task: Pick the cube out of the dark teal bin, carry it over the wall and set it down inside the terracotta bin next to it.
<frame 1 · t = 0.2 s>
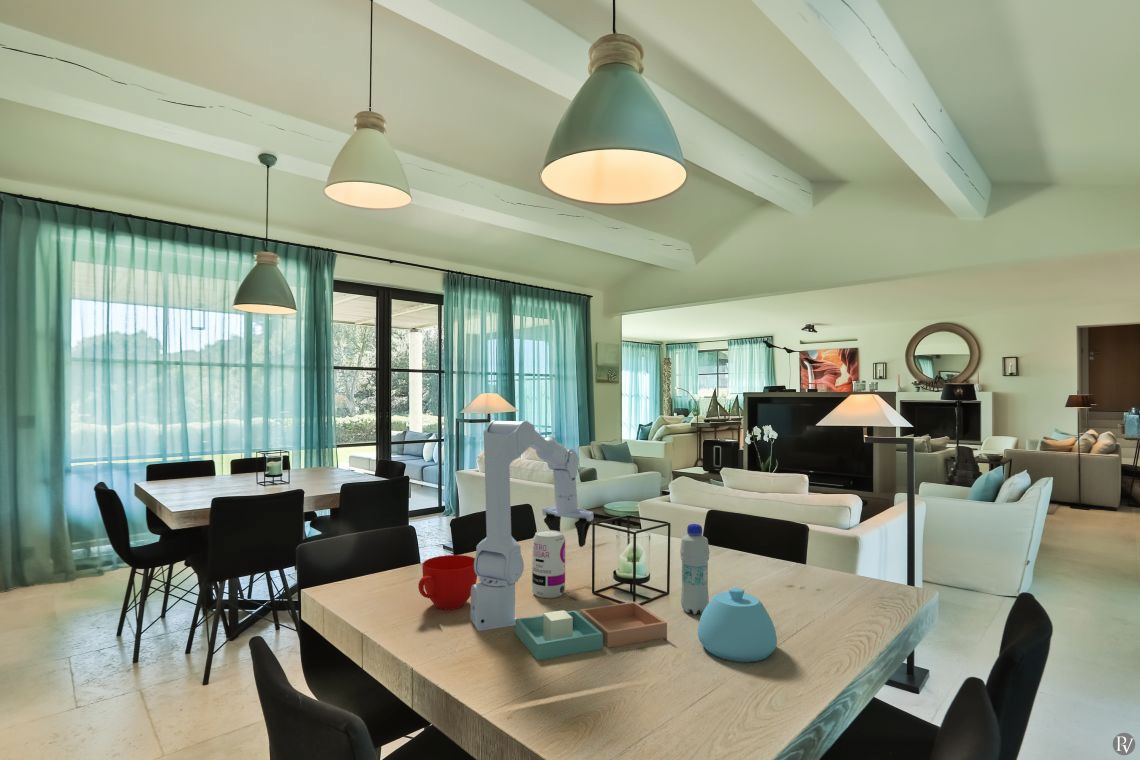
hand: (569, 543, 156), 11 cm above the table, tool pointing down, fingers open, 7 cm apart
bottle: (694, 611, 136), on the table
cube: (557, 640, 118), point 1 cm above the table, touching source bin
sugar bowl: (736, 649, 116), on the table
supplement can: (548, 594, 148), on the table
ceramic cup: (444, 608, 138), on the table
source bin: (557, 643, 118), on the table
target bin: (622, 632, 124), on the table
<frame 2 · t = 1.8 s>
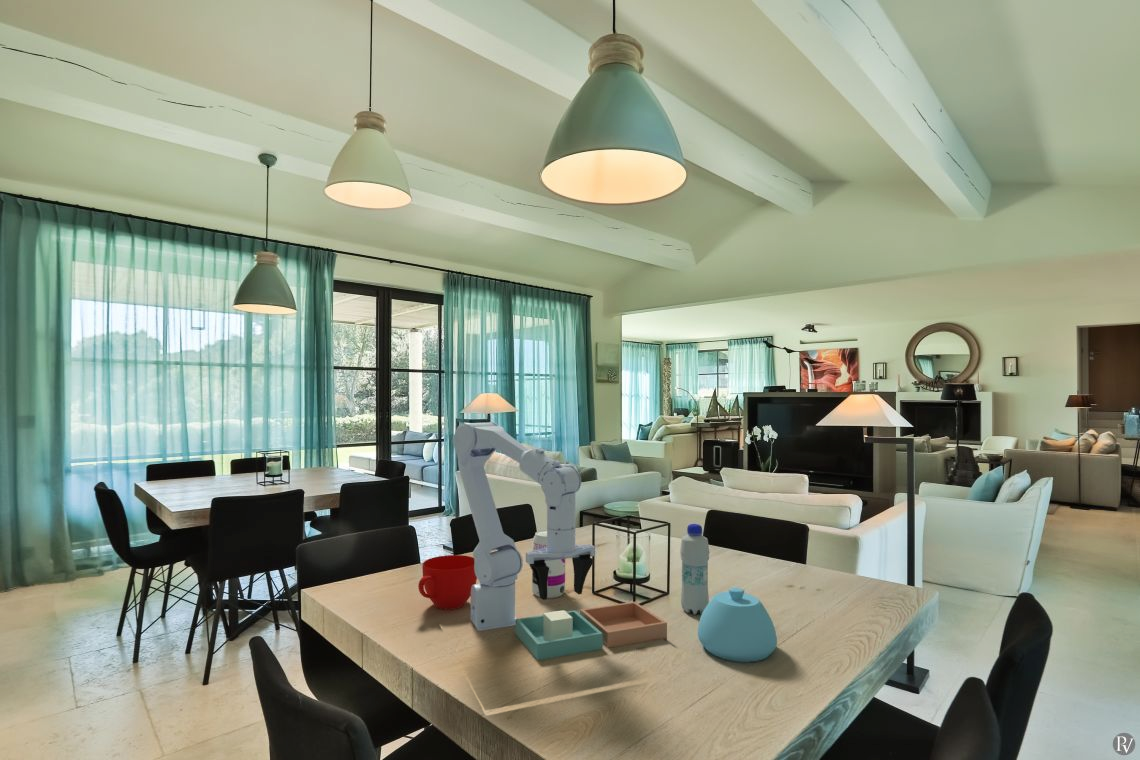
hand: (560, 595, 119), 9 cm above the table, tool pointing down, fingers open, 7 cm apart
nothing on the table moved.
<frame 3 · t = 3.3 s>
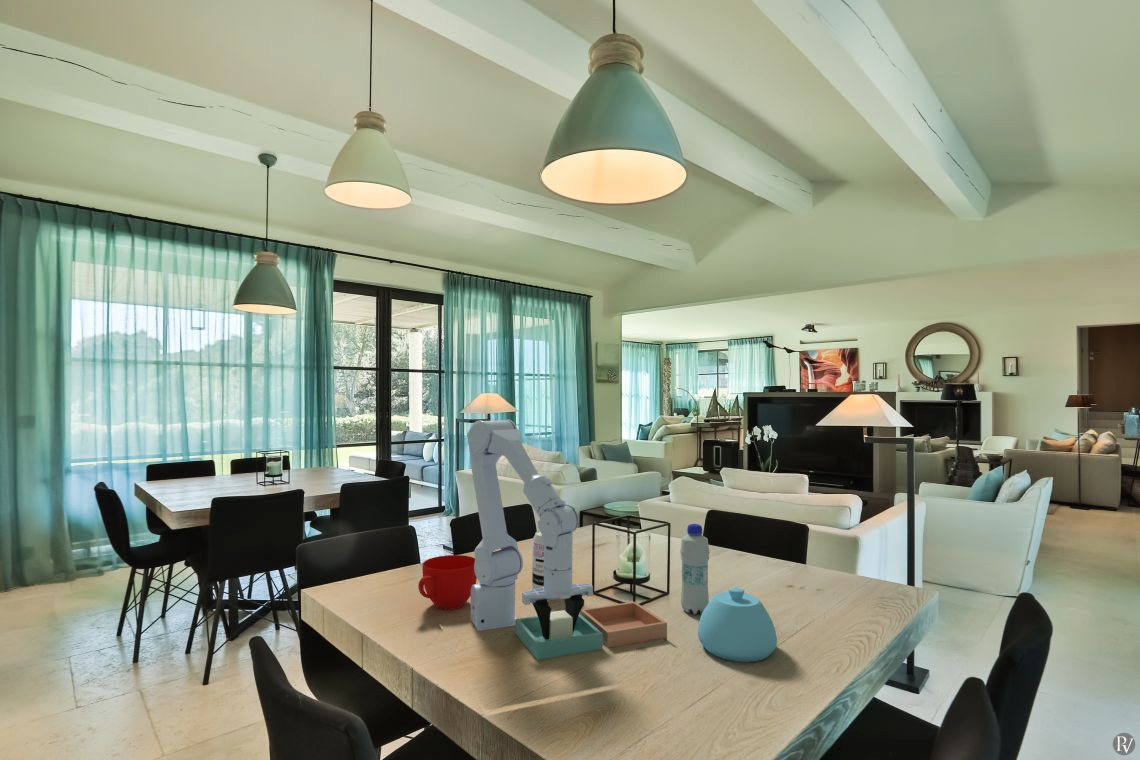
hand: (557, 635, 118), 2 cm above the table, tool pointing down, fingers closed on cube, 4 cm apart
cube: (557, 640, 118), point 1 cm above the table, touching gripper, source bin
everything else where it was.
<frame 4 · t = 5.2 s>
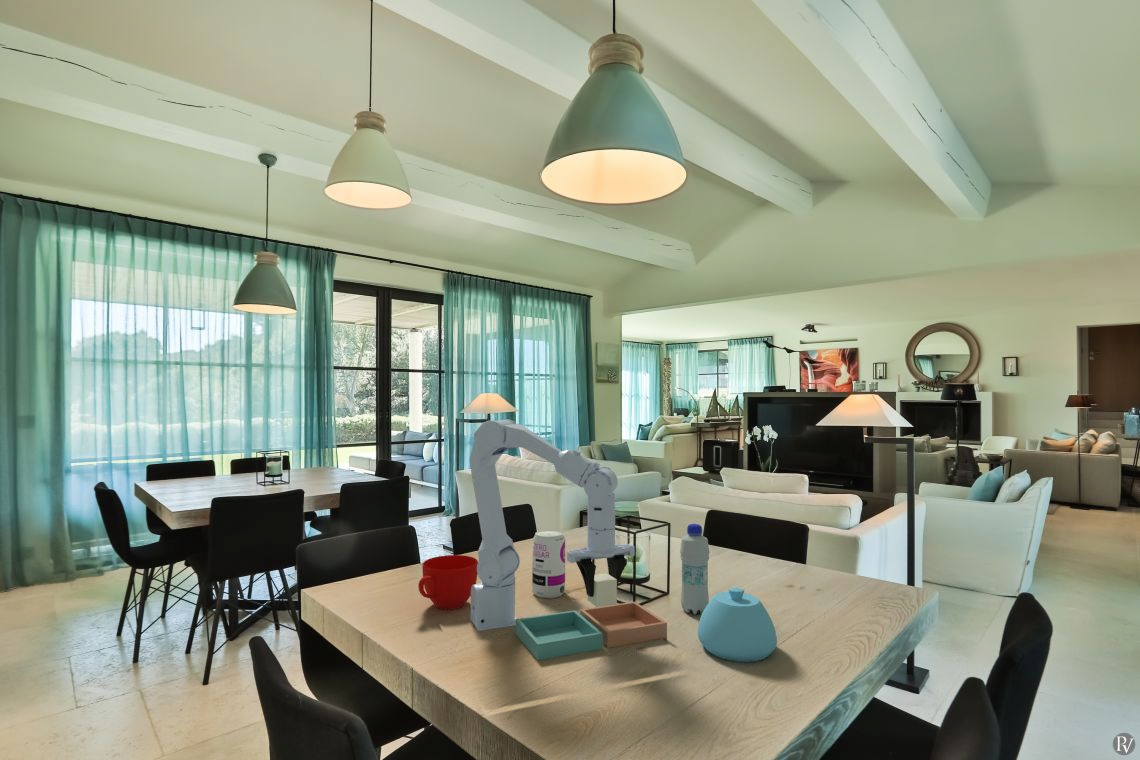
hand: (601, 593, 122), 9 cm above the table, tool pointing down, fingers closed on cube, 4 cm apart
cube: (602, 602, 121), point 7 cm above the table, touching gripper
everything else where it was.
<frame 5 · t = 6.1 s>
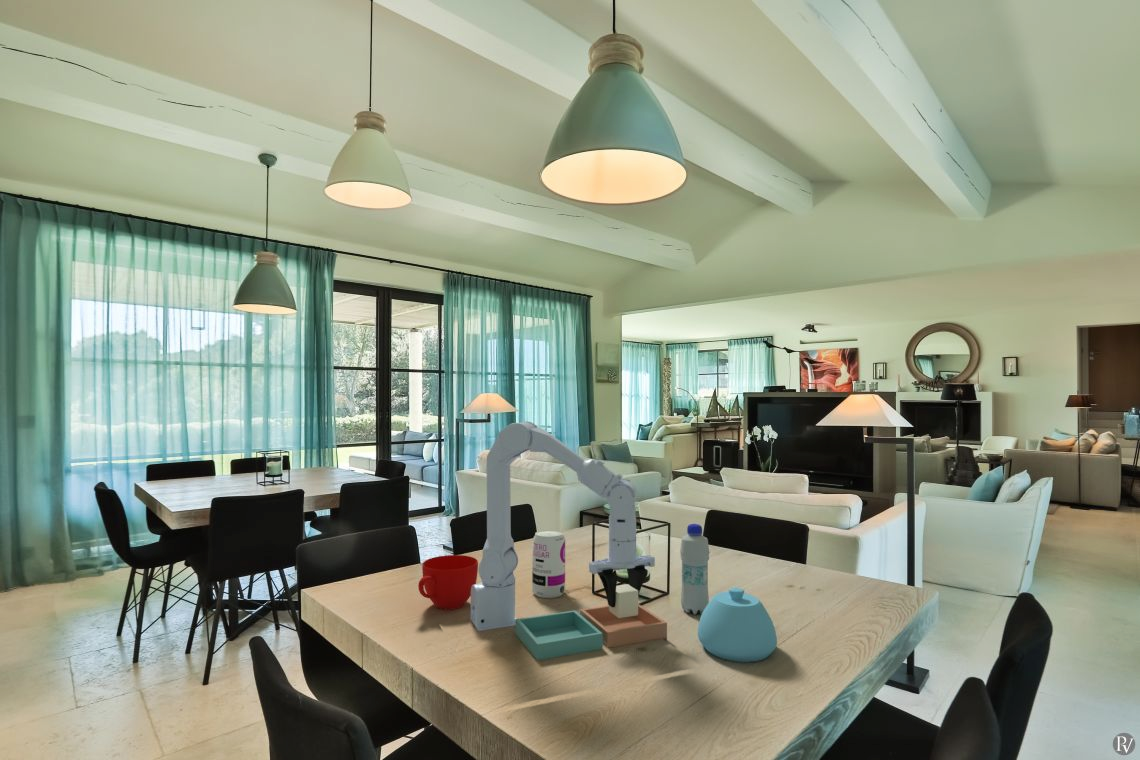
hand: (622, 604, 124), 6 cm above the table, tool pointing down, fingers closed on cube, 4 cm apart
cube: (623, 612, 123), point 4 cm above the table, touching gripper
everything else where it was.
when the fingers open (3 cm above the table, at t = 7.0 s): cube drops 1 cm, resting on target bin.
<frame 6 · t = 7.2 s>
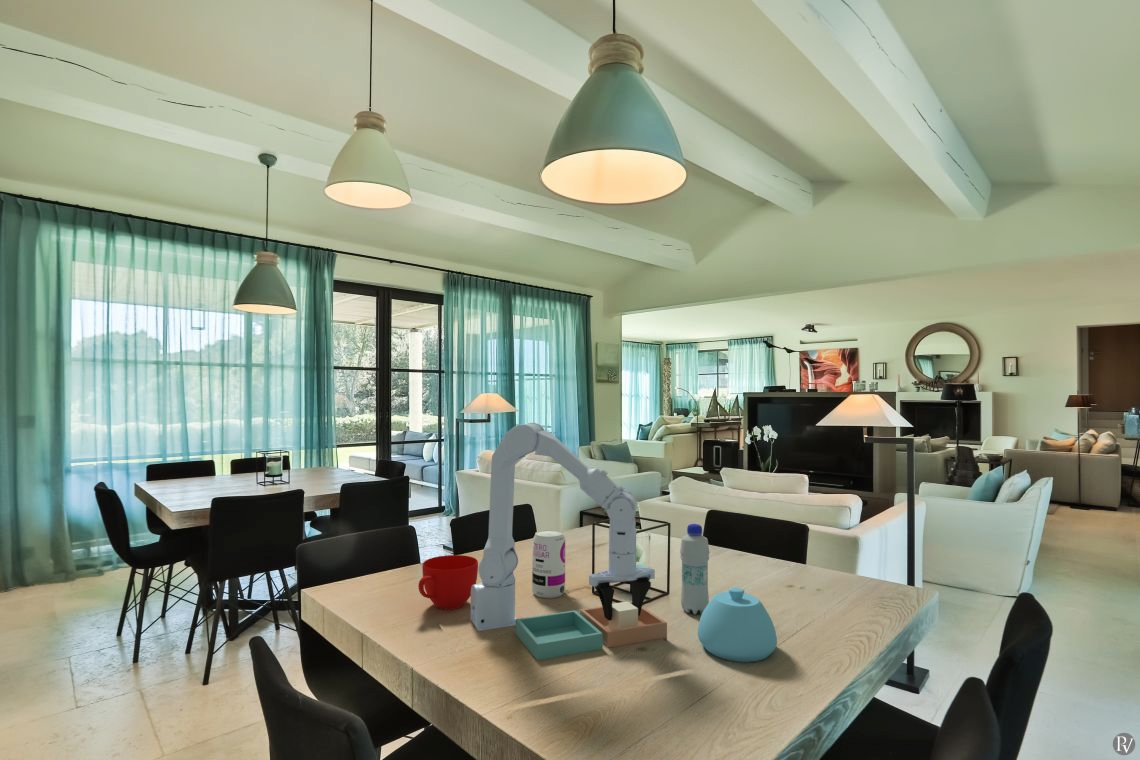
hand: (622, 616, 124), 3 cm above the table, tool pointing down, fingers open, 6 cm apart
cube: (623, 630, 123), point 1 cm above the table, touching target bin
everything else where it was.
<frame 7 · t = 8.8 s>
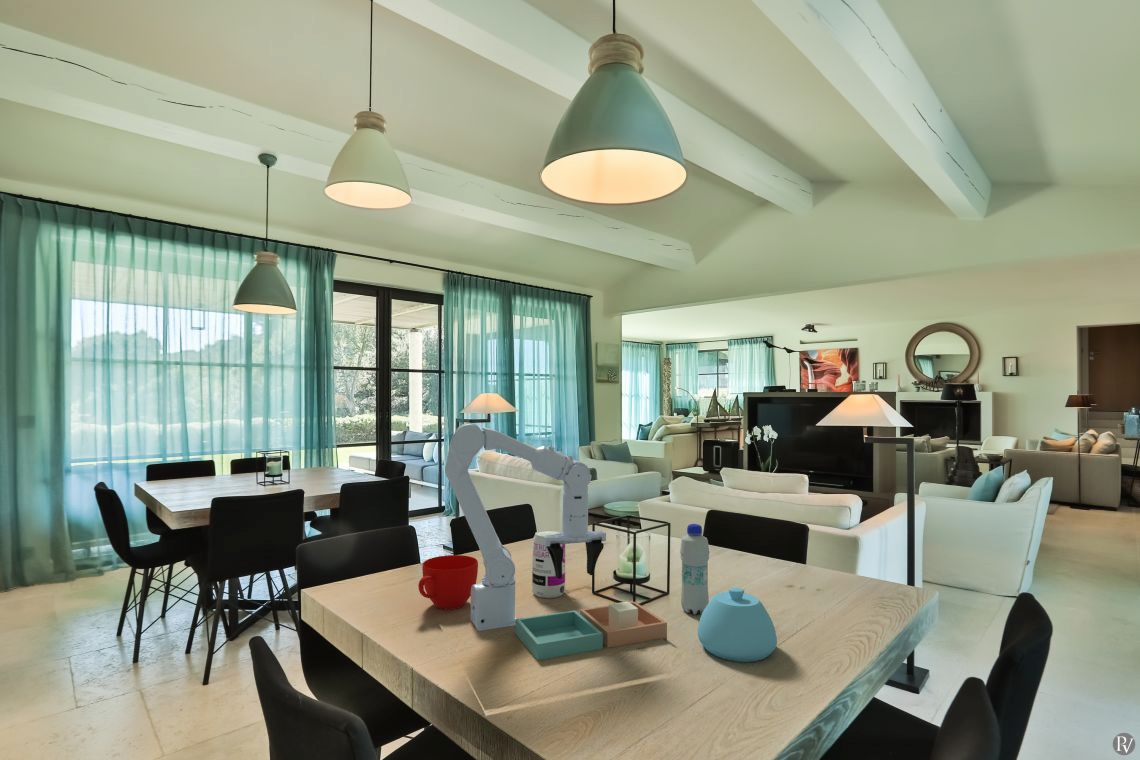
hand: (574, 575, 132), 9 cm above the table, tool pointing down, fingers open, 7 cm apart
nothing on the table moved.
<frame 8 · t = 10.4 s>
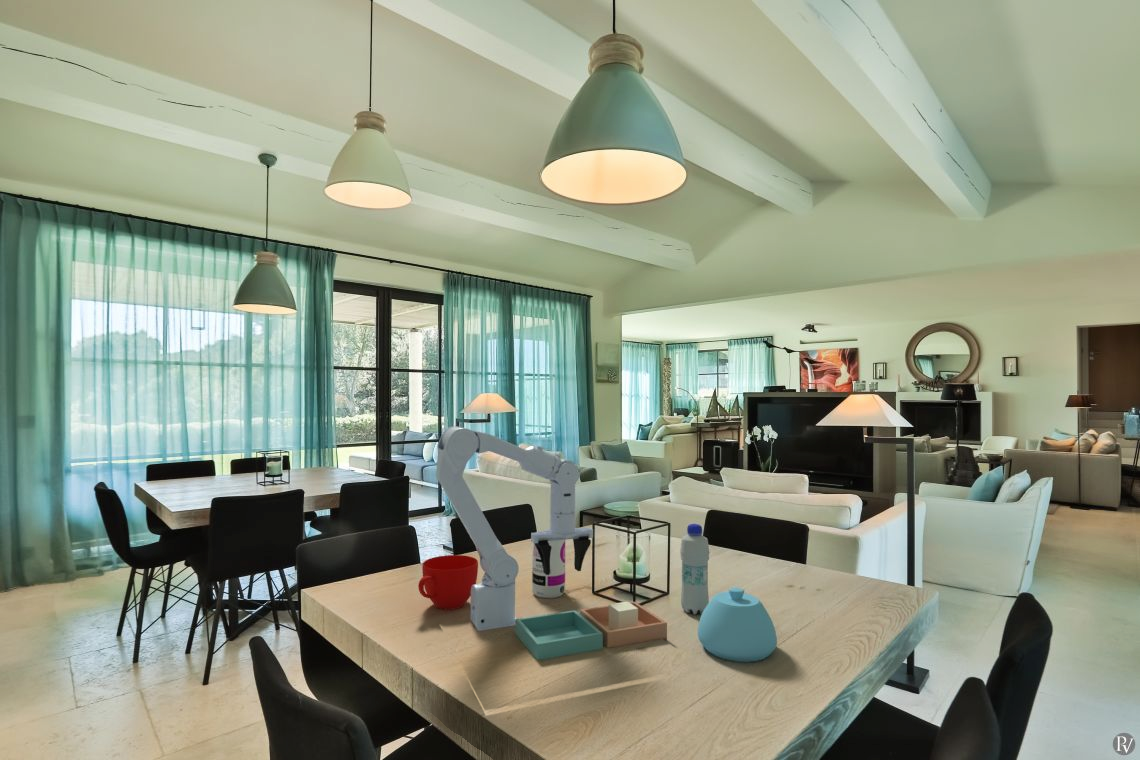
hand: (562, 571, 135), 9 cm above the table, tool pointing down, fingers open, 7 cm apart
nothing on the table moved.
at the end: cube inside the target area on the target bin (0.4 cm from its centre), point 0.6 cm above the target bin's base; the gripper is holding nothing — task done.
